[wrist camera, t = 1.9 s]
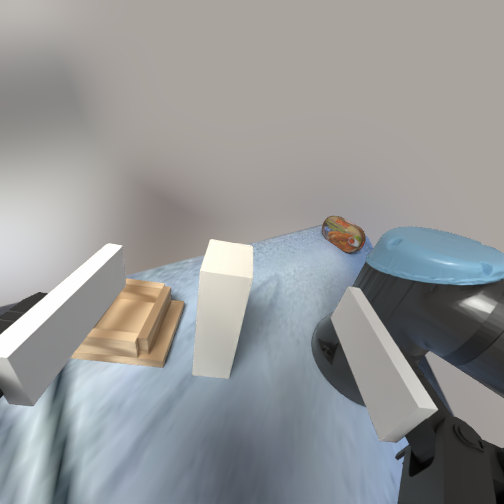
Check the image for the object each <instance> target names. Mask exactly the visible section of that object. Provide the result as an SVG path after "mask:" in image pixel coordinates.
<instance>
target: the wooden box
mask: <svg viewBox="0 0 504 504" xmlns="http://www.w3.org/2000/svg"><path fill="white" fill-rule="evenodd" d="M183 309H184V301H178V300H171V287H166V286H165V284H163V283H156V282H149V281H141V280H134V279H127V278H126V286H125V287H124V288H123V290H122V291H121V292H120V294H119V295H118V296H117V298H116V299H115V300H114V301H113V303H112V304H111V305H110V307H109V308H108V309H107V311H106V312H105V313H104V315H103V316H102V317H101V318H100V320H99V321H98V322H97V324H96V325H95V326H94V328H93V329H92V330H91V332H90V333H89V334H88V335H87V337H86V338H85V339H84V341H83V342H82V343H81V345H80V346H79V347H78V348H77V350H76V351H75V352H74V354H73V355H72V356H71V358H75V359H85V360H94V361H104V362H114V363H123V364H133V365H143V366H153V367H162V368H163V366H164V363H165V361H166V358H167V355H168V352H169V349H170V346H171V343H172V340H173V338H174V335H175V332H176V329H177V326H178V323H179V320H180V318H181V315H182V312H183Z"/></svg>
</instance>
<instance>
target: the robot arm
mask: <svg viewBox="0 0 504 504" xmlns="http://www.w3.org/2000/svg"><path fill="white" fill-rule="evenodd" d="M125 286H126V278H125V266H124V255H123V246H121V245H115V244H110V243H108V244H107V245H105V246H104V247H103V248H102V249H101V250H100V251H98V252H97V253H96V254H95V255H94V256H92V257H91V258H90V259H89V260H88V261H87V262H85V263H84V264H83V265H82V266H81V267H79V268H78V269H77V270H76V271H75V272H74V273H72V274H71V275H70V276H69V277H68V278H66V279H65V280H64V281H63V282H62V283H61V284H59V285H58V286H57V287H56V288H55V289H53V290H52V291H51V292H50V293H49V294H48V293H41V292H39V293H37V294H34V295H32V296H30V297H28V298H26V299H24V300H22V301H21V302H19V303H18V304H17V305H16V306H14V307H13V308H12V309H10V311H9V312H7V313H5V314H4V315H3V316H1V317H0V398H1V397H2V396H3V395H4V397H5V399H6V400H7V402H8V403H9V404H15V405H25V406H34V405H35V403H36V402H37V401H38V399H39V398H40V397H41V395H42V394H43V393H44V392H45V390H46V389H47V388H48V386H49V385H50V384H51V382H52V381H53V380H54V378H55V377H56V376H57V375H58V373H59V372H60V371H61V369H62V368H63V367H64V365H65V364H66V363H67V362H68V360H69V359H70V358H71V356H72V355H73V354H74V352H75V351H76V350H77V348H78V347H79V346H80V345H81V343H82V342H83V341H84V339H85V338H86V337H87V335H88V334H89V333H90V332H91V330H92V329H93V328H94V326H95V325H96V324H97V322H98V321H99V320H100V318H101V317H102V316H103V315H104V313H105V312H106V311H107V309H108V308H109V307H110V305H111V304H112V303H113V301H114V300H115V299H116V298H117V296H118V295H119V294H120V292H121V291H122V290H123V288H124V287H125ZM312 351H313V355H314V358H315V361H316V363H317V365H318V367H319V369H320V370H321V372H322V373H323V375H324V376H325V377H326V379H327V380H328V381H329V382H330V383H331V384H332V385H333V386H334V387H335V388H336V389H337V390H338V391H339V392H340V393H342V394H343V395H344V396H346V397H347V398H349V399H350V400H352V401H354V402H356V403H358V404H360V405H362V406H365V407H366V408H367V410H368V413H369V415H370V418H371V420H372V423H373V425H374V428H375V430H376V433H377V435H378V438H379V440H380V441H385V442H395V443H397V442H398V441H399V440H401V439H402V438H403V437H404V436H405V437H406V439H407V441H408V443H409V445H408V446H407V447H405V448H404V449H403V450H401V451H400V452H398V453H397V455H396V457H395V458H396V459H397V460H399V459H400V458H402V457H403V456H404V462H403V463H402V464H403V469H402V476H401V483H400V490H399V497H398V504H504V448H500V447H498V446H496V445H493V444H491V443H489V442H487V441H485V440H482V439H481V437H480V436H479V435H478V434H477V433H476V432H475V430H474V429H473V428H472V427H470V426H469V425H468V424H467V423H465V422H464V421H462V420H461V419H459V418H457V417H453V416H452V415H451V414H450V413H449V411H448V410H447V408H446V407H445V405H444V404H443V402H442V401H441V399H440V398H439V396H438V395H437V393H436V392H435V390H434V389H433V388H432V386H431V385H430V383H429V382H428V380H427V379H426V378H425V376H424V374H423V373H422V371H421V370H420V369H419V368H418V366H419V362H420V360H421V358H422V357H423V356H424V355H425V354H426V353H427V352H428V351H431V352H433V353H435V354H436V355H438V356H439V357H441V358H443V359H444V360H446V361H447V362H449V363H451V364H452V365H454V366H455V367H457V368H458V369H460V370H461V371H463V372H464V373H466V374H468V375H469V376H471V377H472V378H474V379H475V380H477V381H479V382H480V383H481V384H483V385H484V386H486V387H487V388H489V389H491V390H492V391H494V392H495V393H497V394H498V395H500V396H501V397H503V398H504V254H503V253H502V252H500V251H498V250H497V249H495V248H492V247H489V246H486V245H482V244H481V243H480V242H478V241H475V240H472V239H470V238H466V237H463V236H460V235H456V234H452V233H449V232H444V231H439V230H435V229H429V228H422V227H398V228H394V229H391V230H389V231H387V232H386V233H384V234H383V235H382V237H381V238H380V240H379V241H378V243H377V244H376V246H375V247H374V249H373V250H372V252H370V253H369V254H368V255H367V257H366V263H365V264H364V266H363V268H362V270H361V272H360V273H359V275H358V277H357V279H356V281H355V283H354V284H353V286H352V287H350V286H348V287H347V289H346V291H345V293H344V295H343V296H342V298H341V300H340V302H339V304H338V305H337V307H336V309H335V311H333V312H332V313H331V314H329V315H328V316H327V317H325V318H324V319H323V320H322V321H321V322H320V323H319V325H318V326H317V328H316V330H315V332H314V334H313V337H312Z"/></svg>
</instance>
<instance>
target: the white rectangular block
mask: <svg viewBox="0 0 504 504" xmlns="http://www.w3.org/2000/svg"><path fill="white" fill-rule="evenodd" d="M252 280H253V246H249V245H243V244H237V243H230V242H224V241H217V240H210V242H209V245H208V249H207V251H206V254H205V257H204V260H203V263H202V266H201V269H200V278H199V292H198V305H197V318H196V332H195V345H194V358H193V371H192V375H194V376H204V377H214V378H224V379H229V376H230V372H231V368H232V364H233V360H234V356H235V351H236V347H237V343H238V339H239V335H240V330H241V326H242V322H243V318H244V314H245V310H246V305H247V301H248V297H249V293H250V289H251V284H252Z"/></svg>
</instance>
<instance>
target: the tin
mask: <svg viewBox="0 0 504 504" xmlns="http://www.w3.org/2000/svg"><path fill="white" fill-rule="evenodd" d="M322 232H323V235H324V237H325V238H326V239H327V240H328V241H330V242H331V243H333V244H334V245H335V246H337V247H338V248H340V249H341V250H343V251H344V252H347V253H351V252H356V251H358V250H360V249H361V248H362V247H363V245H364V243H365V240H366V238H365V233H364V231H363V230H362V229H361V228H360V227H358V226H356V225H354V224H353V223H351V222H349V221H347V220H345V219H344V218H342V217H339V216H330V217H328V218H327V219H326V220H325V221H324V223H323V226H322Z"/></svg>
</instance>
